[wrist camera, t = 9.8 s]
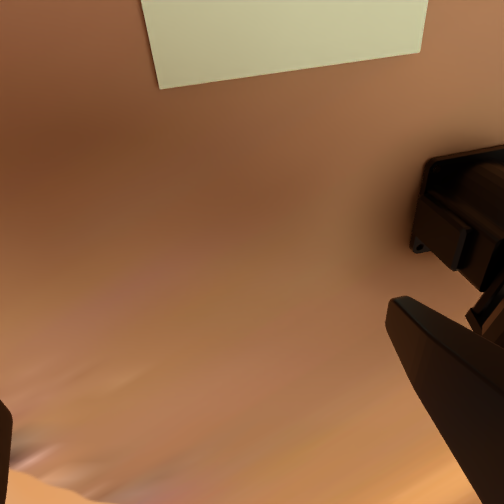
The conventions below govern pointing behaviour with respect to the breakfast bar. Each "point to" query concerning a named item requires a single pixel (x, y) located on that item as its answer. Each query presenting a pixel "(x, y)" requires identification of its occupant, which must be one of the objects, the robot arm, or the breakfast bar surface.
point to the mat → (274, 35)
